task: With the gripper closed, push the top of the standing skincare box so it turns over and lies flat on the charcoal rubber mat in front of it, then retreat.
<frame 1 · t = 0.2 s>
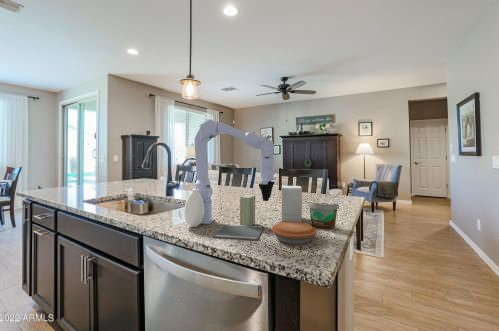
hand: (266, 199, 103), 10 cm above the worktop, fingers open, 7 cm apart
skincare box: (247, 225, 101), on the worktop
mat: (239, 232, 90), on the worktop
pie: (293, 239, 84), on the worktop
supplement box: (291, 219, 110), on the worktop
sauce bottle: (193, 226, 98), on the worktop, touching arm
food container: (321, 228, 97), on the worktop
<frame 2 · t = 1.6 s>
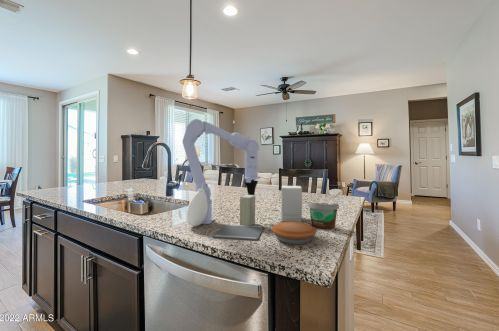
hand: (251, 196, 109), 10 cm above the worktop, fingers closed
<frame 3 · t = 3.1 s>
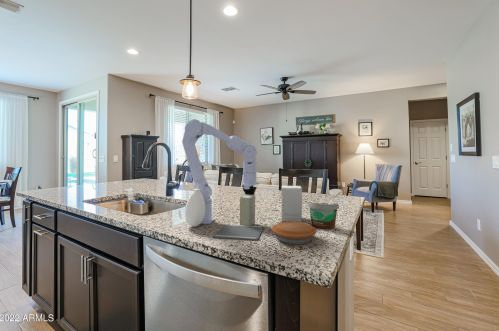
hand: (249, 203, 105), 8 cm above the worktop, fingers closed
skincare box: (247, 224, 101), on the worktop, touching gripper
sauce bottle: (193, 226, 98), on the worktop
everything else where it was.
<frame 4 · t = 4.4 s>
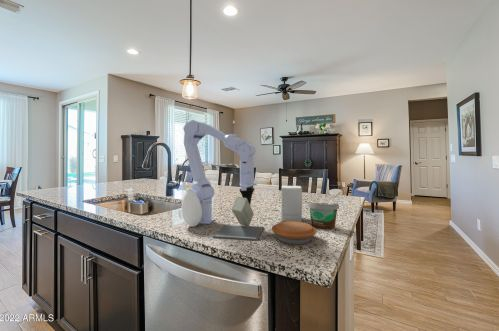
hand: (247, 205, 99), 8 cm above the worktop, fingers closed, pressing on skincare box
skincare box: (247, 219, 100), point 2 cm above the worktop, touching gripper, mat
sauce bottle: (193, 226, 98), on the worktop, touching arm
everything else where it was.
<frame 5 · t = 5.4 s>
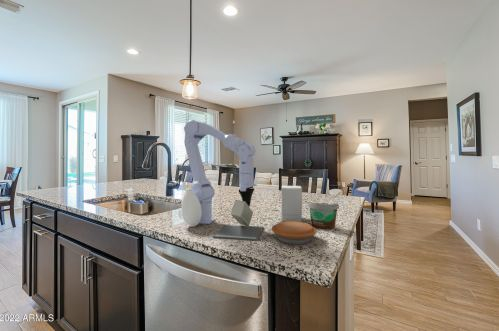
hand: (246, 206, 98), 8 cm above the worktop, fingers closed
skincare box: (246, 218, 100), point 3 cm above the worktop, touching gripper, mat
everything else where it was.
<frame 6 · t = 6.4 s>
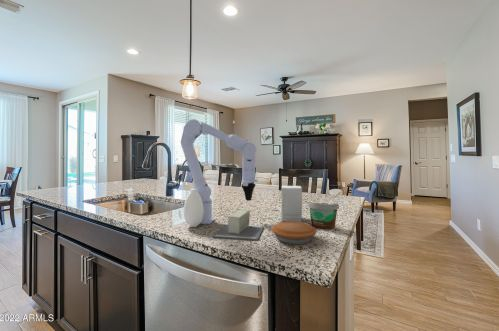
hand: (248, 200, 107), 9 cm above the worktop, fingers closed
skincare box: (245, 217, 99), point 4 cm above the worktop, touching mat
sauce bottle: (193, 227, 98), on the worktop
everything else where it was.
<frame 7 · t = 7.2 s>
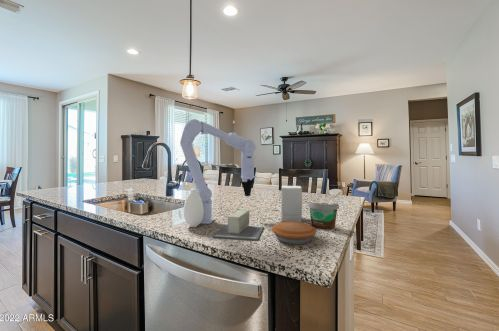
hand: (247, 195, 111), 10 cm above the worktop, fingers closed
nothing on the worktop moved.
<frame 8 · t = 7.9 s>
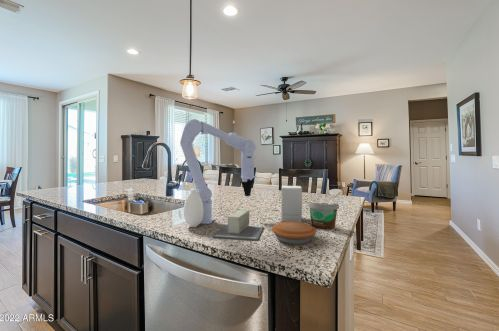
hand: (247, 195, 111), 10 cm above the worktop, fingers closed
nothing on the worktop moved.
at the end: skincare box tilted 89°; skincare box inside the target area (6.9 cm from its centre), point 3.5 cm above the worktop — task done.
